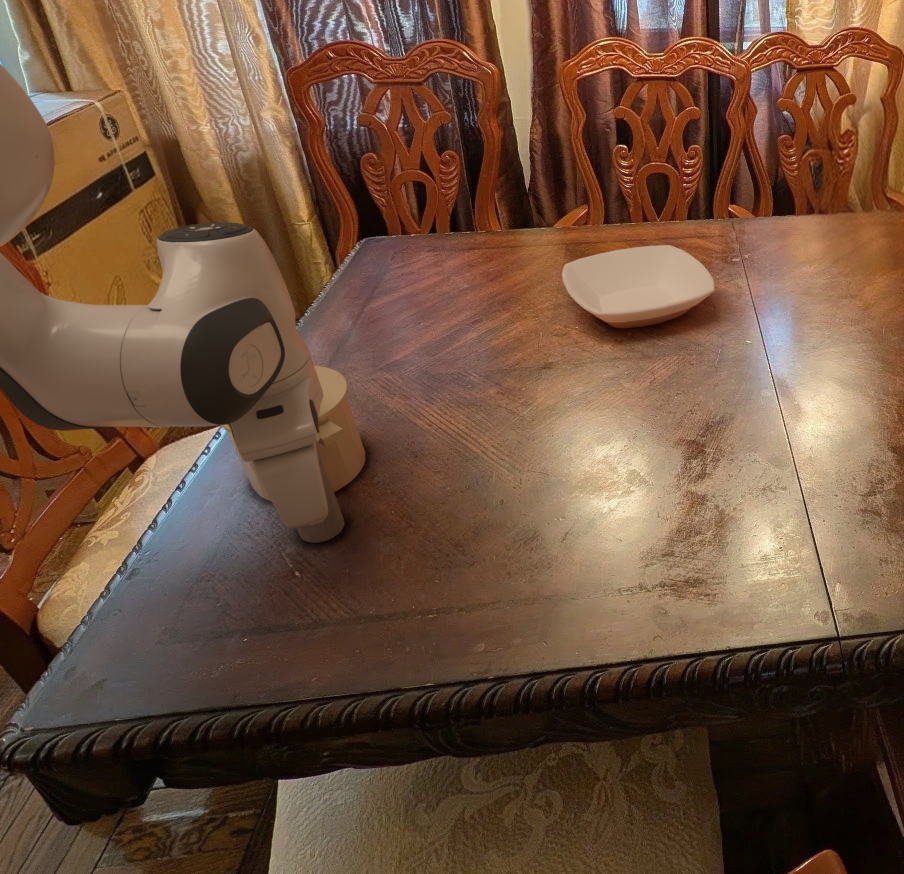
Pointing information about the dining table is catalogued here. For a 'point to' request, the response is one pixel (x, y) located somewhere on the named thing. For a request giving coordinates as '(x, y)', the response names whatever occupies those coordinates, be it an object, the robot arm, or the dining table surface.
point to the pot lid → (327, 391)
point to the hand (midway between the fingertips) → (312, 503)
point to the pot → (328, 450)
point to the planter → (331, 522)
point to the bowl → (638, 284)
